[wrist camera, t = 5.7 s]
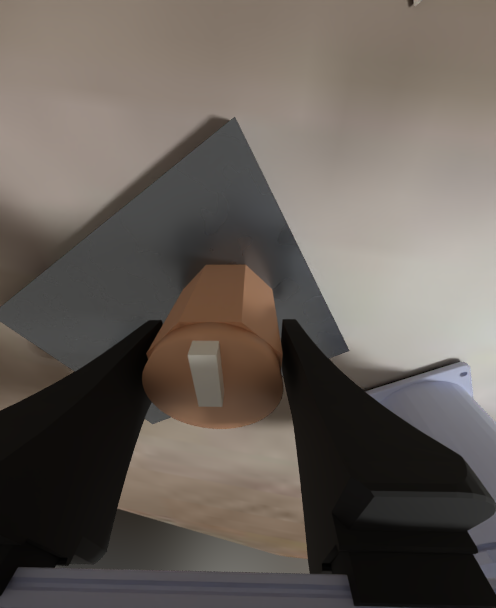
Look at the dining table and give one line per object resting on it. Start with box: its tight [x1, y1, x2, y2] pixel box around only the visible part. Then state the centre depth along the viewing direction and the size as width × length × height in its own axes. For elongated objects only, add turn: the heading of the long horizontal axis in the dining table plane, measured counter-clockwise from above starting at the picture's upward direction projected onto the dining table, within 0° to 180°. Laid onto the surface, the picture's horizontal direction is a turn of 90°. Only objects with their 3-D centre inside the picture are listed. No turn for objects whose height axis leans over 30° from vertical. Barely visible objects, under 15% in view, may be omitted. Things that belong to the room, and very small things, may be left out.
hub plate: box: [0, 117, 349, 424], centre depth 13 cm, size 14×18×5 cm
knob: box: [142, 265, 283, 429], centre depth 10 cm, size 5×5×6 cm
